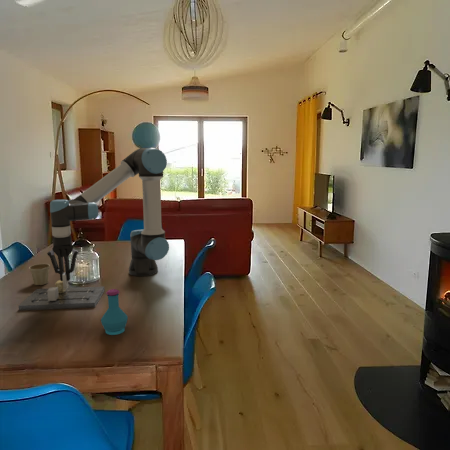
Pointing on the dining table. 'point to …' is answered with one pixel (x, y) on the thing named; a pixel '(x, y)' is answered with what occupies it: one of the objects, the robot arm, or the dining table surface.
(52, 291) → the grey fader
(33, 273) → the flower pot
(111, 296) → the perfume bottle
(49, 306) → the console
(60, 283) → the block
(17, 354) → the dining table surface
